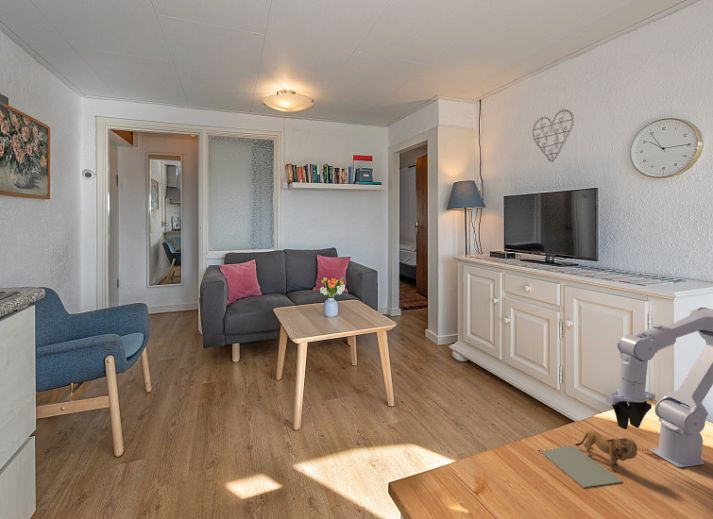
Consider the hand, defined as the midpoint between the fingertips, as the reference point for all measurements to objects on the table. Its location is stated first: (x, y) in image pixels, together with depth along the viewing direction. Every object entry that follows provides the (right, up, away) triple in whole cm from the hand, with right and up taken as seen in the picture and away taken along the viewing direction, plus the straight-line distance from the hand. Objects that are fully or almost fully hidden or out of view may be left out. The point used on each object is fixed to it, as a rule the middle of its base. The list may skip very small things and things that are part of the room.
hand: (628, 426), depth 102 cm
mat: (-16, -9, -3) cm, 19 cm away
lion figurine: (-7, -9, -1) cm, 12 cm away
